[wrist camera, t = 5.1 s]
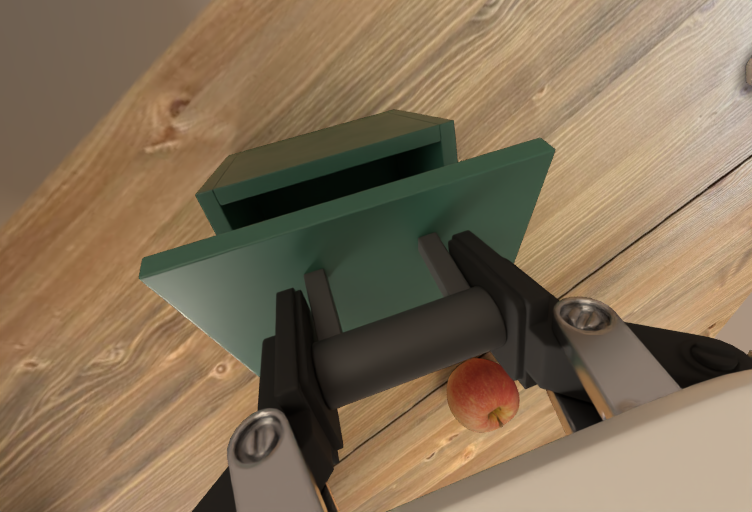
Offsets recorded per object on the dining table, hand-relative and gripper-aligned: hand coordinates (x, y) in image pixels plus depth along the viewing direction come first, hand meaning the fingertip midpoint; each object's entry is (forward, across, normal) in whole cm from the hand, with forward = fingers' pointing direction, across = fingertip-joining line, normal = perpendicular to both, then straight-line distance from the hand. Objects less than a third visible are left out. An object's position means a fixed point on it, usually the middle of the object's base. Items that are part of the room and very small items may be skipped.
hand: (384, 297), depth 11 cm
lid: (+3, 0, +4) cm, 5 cm away
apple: (+16, -10, +28) cm, 34 cm away
